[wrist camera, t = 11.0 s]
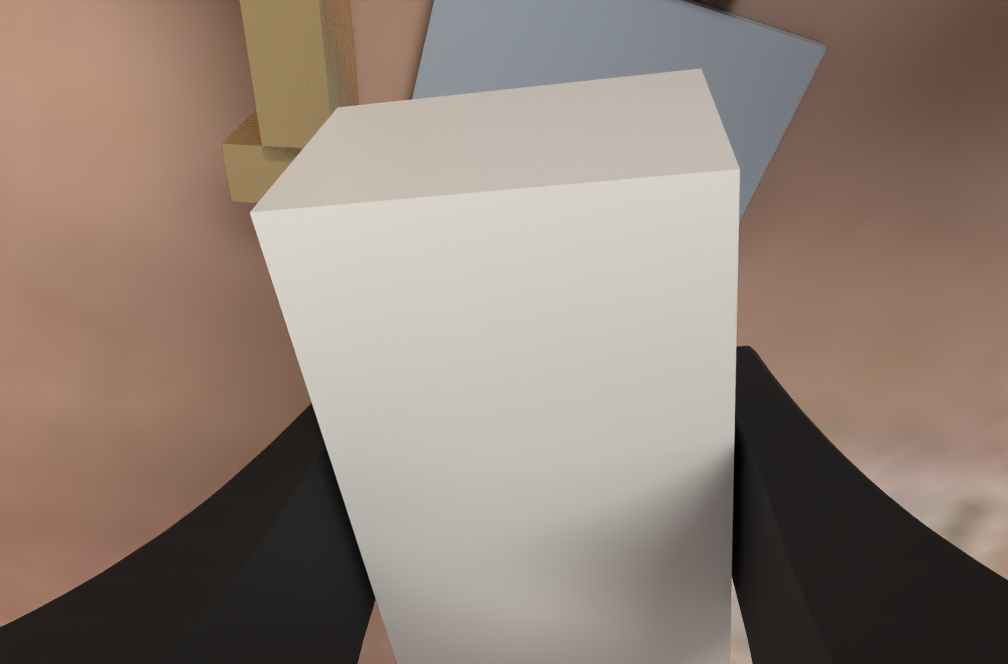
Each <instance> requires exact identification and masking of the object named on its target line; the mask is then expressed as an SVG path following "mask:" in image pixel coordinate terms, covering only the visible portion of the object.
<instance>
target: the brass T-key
mask: <svg viewBox="0 0 1008 664" xmlns="http://www.w3.org/2000/svg"><path fill="white" fill-rule="evenodd" d="M239 1H240V7H241V14H242V20H243V27H244V33H245V40H246V46H247V52H248V59H249V65H250V72H251V78H252V85H253V91H254V98H255V104H256V111H255V112H254V113H253V114H252V115H251V116H249V117H248V118H247V119H246V120H245V121H244V122H243V123H242V124H241V125H240V126H239V127H238V128H237V129H236V130H235V131H234V132H233V133H232V134H231V135H230V136H229V137H228V138H226V139H225V140H224V141H223V142H222V143H221V146H222V152H223V157H224V163H225V168H226V173H227V179H228V184H229V190H230V195H231V201H232V202H250V203H258V202H259V201H260V200H261V198H262V197H263V196H264V195H265V194H266V192H267V191H268V190H269V189H270V188H271V186H272V185H273V184H274V183H275V182H276V180H277V179H278V178H279V177H280V176H281V175H282V173H283V172H284V171H285V170H286V169H287V167H288V166H289V165H290V164H291V163H292V161H293V160H294V159H295V158H296V157H297V155H298V154H299V153H300V152H301V151H302V149H303V148H304V147H305V146H306V145H307V143H308V142H309V141H310V140H311V139H312V137H313V136H314V135H315V134H316V133H317V131H318V130H319V129H320V128H321V127H322V126H323V124H324V123H325V122H326V121H327V120H328V118H329V117H330V116H331V115H332V114H333V112H334V111H335V110H336V109H337V108H338V107H347V106H356V105H359V102H358V90H357V78H356V66H355V54H354V42H353V30H352V18H351V6H350V0H239Z"/></svg>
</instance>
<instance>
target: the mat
mask: <svg viewBox="0 0 1008 664" xmlns="http://www.w3.org/2000/svg"><path fill="white" fill-rule="evenodd" d="M826 50H827V48H826V47H825V45H824V44H823V43H820V42H817V41H814V40H811V39H808V38H805V37H802V36H799V35H796V34H793V33H790V32H787V31H784V30H781V29H778V28H775V27H772V26H769V25H766V24H763V23H760V22H757V21H754V20H751V19H748V18H745V17H742V16H739V15H736V14H733V13H730V12H727V11H724V10H720V9H717V8H714V7H711V6H708V5H705V4H702V3H699V2H696V1H693V0H434V4H433V8H432V12H431V17H430V21H429V26H428V30H427V35H426V39H425V44H424V48H423V53H422V57H421V62H420V66H419V70H418V75H417V79H416V84H415V88H414V93H413V97H412V99H421V98H430V97H440V96H449V95H458V94H468V93H477V92H486V91H496V90H505V89H514V88H523V87H533V86H542V85H551V84H561V83H570V82H579V81H589V80H598V79H607V78H617V77H626V76H635V75H644V74H654V73H663V72H672V71H682V70H691V69H700V68H701V69H702V72H703V74H704V77H705V80H706V82H707V85H708V87H709V90H710V93H711V95H712V98H713V100H714V103H715V106H716V108H717V111H718V113H719V116H720V119H721V121H722V124H723V126H724V129H725V132H726V134H727V137H728V139H729V142H730V145H731V147H732V150H733V152H734V155H735V158H736V160H737V163H738V165H739V168H740V191H739V222H740V220H741V218H742V216H743V214H744V212H745V210H746V208H747V206H748V204H749V202H750V200H751V198H752V196H753V194H754V192H755V190H756V188H757V186H758V184H759V182H760V180H761V178H762V176H763V174H764V172H765V171H766V169H767V167H768V165H769V163H770V161H771V159H772V157H773V155H774V153H775V151H776V149H777V147H778V145H779V143H780V141H781V139H782V137H783V135H784V133H785V131H786V129H787V127H788V125H789V123H790V121H791V119H792V117H793V115H794V113H795V111H796V109H797V107H798V105H799V103H800V101H801V99H802V97H803V95H804V93H805V91H806V89H807V87H808V85H809V83H810V81H811V79H812V77H813V75H814V73H815V71H816V69H817V67H818V65H819V64H820V62H821V60H822V58H823V56H824V54H825V52H826Z"/></svg>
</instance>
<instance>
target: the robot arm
mask: <svg viewBox="0 0 1008 664" xmlns="http://www.w3.org/2000/svg"><path fill="white" fill-rule="evenodd" d="M732 579H733V583H734V586H735V590H736V594H737V598H738V602H739V606H740V610H741V614H742V618H743V622H744V626H745V630H746V634H747V638H748V643H749V648H750V653H751V657H752V662H753V664H1008V580H1007V579H1005V578H1003V577H1002V576H1000V575H998V574H997V573H995V572H994V571H992V570H991V569H989V568H987V567H986V566H984V565H983V564H981V563H979V562H978V561H976V560H975V559H973V558H972V557H971V556H969V555H968V554H966V553H965V552H963V551H962V550H960V549H959V548H957V547H956V546H954V545H953V544H951V543H950V542H949V541H947V540H946V539H944V538H943V537H941V536H940V535H938V534H937V533H935V532H934V531H932V530H931V529H930V528H928V527H927V526H926V525H924V524H923V523H922V522H920V521H919V520H918V519H916V518H915V517H914V516H912V515H911V514H910V513H909V512H907V511H906V510H905V509H904V508H903V507H901V506H900V505H899V504H898V503H896V502H895V501H894V500H893V499H892V498H890V497H889V496H888V495H887V494H886V493H884V492H883V491H882V490H881V489H880V488H879V487H877V486H876V485H875V484H874V483H873V482H872V481H871V480H870V479H869V478H867V477H866V476H865V475H864V474H863V473H862V472H861V471H860V470H859V469H858V468H857V467H856V466H855V465H854V464H853V463H852V462H851V461H849V460H848V459H847V458H846V457H845V456H844V455H843V454H842V453H841V452H840V451H839V450H838V449H837V448H836V447H835V446H834V445H833V444H832V443H831V442H830V441H829V440H828V439H827V437H826V436H825V435H824V434H823V433H822V432H821V431H820V430H819V429H818V428H817V427H816V425H815V424H814V423H813V422H812V421H811V420H810V419H809V418H808V417H807V416H806V414H805V413H804V412H803V411H802V410H801V409H800V408H799V407H798V405H797V404H796V403H795V402H794V401H793V399H792V398H791V397H790V396H789V395H788V393H787V392H786V391H785V390H784V388H783V387H782V386H781V385H780V384H779V382H778V381H777V380H776V378H775V377H774V376H773V374H772V373H771V372H770V370H769V369H768V368H767V366H766V365H765V364H764V362H763V361H762V359H761V358H760V357H759V355H758V354H757V352H756V351H755V350H753V349H752V348H751V347H750V346H739V347H736V385H735V434H734V482H733V531H732ZM375 600H376V598H375V595H374V592H373V589H372V586H371V583H370V580H369V577H368V574H367V571H366V568H365V564H364V561H363V558H362V555H361V552H360V549H359V546H358V543H357V540H356V537H355V534H354V531H353V528H352V525H351V522H350V518H349V515H348V512H347V509H346V506H345V503H344V500H343V497H342V494H341V491H340V488H339V485H338V482H337V479H336V476H335V473H334V469H333V466H332V463H331V460H330V457H329V454H328V451H327V448H326V445H325V442H324V439H323V436H322V433H321V430H320V427H319V423H318V420H317V417H316V414H315V411H314V408H313V405H312V403H311V404H310V405H309V406H308V407H307V408H306V409H305V410H304V411H303V412H302V413H301V414H300V415H299V416H298V417H297V418H296V419H295V420H294V421H293V422H292V423H291V424H290V425H289V426H288V427H287V428H286V429H285V430H284V431H283V432H282V433H281V434H280V435H279V436H278V437H277V438H276V439H275V440H274V441H273V442H272V443H271V444H270V445H269V446H268V447H267V448H266V449H264V450H263V451H262V452H261V453H260V454H259V455H258V456H257V457H255V458H254V459H253V460H252V461H251V462H250V463H249V464H248V465H247V466H245V467H244V468H243V469H242V470H241V471H240V472H239V473H238V474H236V475H235V476H234V477H233V478H232V479H231V480H230V481H229V482H228V483H226V484H225V485H224V486H223V487H222V488H221V489H219V490H218V491H217V492H216V493H215V494H213V495H212V496H211V497H210V498H208V499H207V500H206V501H205V502H203V503H202V504H201V505H200V506H198V507H197V508H196V509H194V510H193V511H192V512H190V513H189V514H188V515H186V516H185V517H184V518H182V519H181V520H180V521H178V522H177V523H176V524H174V525H173V526H172V527H170V528H169V529H167V530H166V531H165V532H163V533H162V534H160V535H159V536H157V537H156V538H154V539H153V540H151V541H150V542H148V543H147V544H145V545H144V546H142V547H141V548H139V549H138V550H136V551H134V552H133V553H131V554H130V555H128V556H127V557H125V558H124V559H122V560H121V561H119V562H118V563H116V564H115V565H113V566H111V567H110V568H108V569H107V570H105V571H104V572H102V573H100V574H99V575H97V576H95V577H94V578H92V579H90V580H88V581H87V582H85V583H83V584H81V585H80V586H78V587H76V588H75V589H73V590H71V591H69V592H68V593H66V594H64V595H62V596H60V597H58V598H56V599H55V600H53V601H51V602H49V603H47V604H45V605H44V606H42V607H40V608H38V609H36V610H34V611H32V612H30V613H28V614H26V615H24V616H22V617H21V618H19V619H17V620H15V621H12V622H10V623H8V624H6V625H4V626H2V627H0V664H357V663H358V659H359V655H360V651H361V647H362V643H363V639H364V636H365V633H366V629H367V626H368V623H369V619H370V616H371V613H372V610H373V606H374V603H375Z"/></svg>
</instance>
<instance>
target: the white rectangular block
mask: <svg viewBox="0 0 1008 664" xmlns="http://www.w3.org/2000/svg"><path fill="white" fill-rule="evenodd" d="M739 191H740V168H739V165H738V163H737V160H736V158H735V155H734V152H733V150H732V147H731V145H730V142H729V139H728V137H727V134H726V132H725V129H724V126H723V124H722V121H721V119H720V116H719V113H718V111H717V108H716V106H715V103H714V100H713V98H712V95H711V93H710V90H709V87H708V85H707V82H706V80H705V77H704V74H703V72H702V69H701V68H700V69H691V70H682V71H672V72H663V73H654V74H644V75H635V76H626V77H617V78H607V79H598V80H589V81H579V82H570V83H561V84H551V85H542V86H533V87H523V88H514V89H505V90H496V91H486V92H477V93H468V94H458V95H449V96H440V97H430V98H421V99H412V100H402V101H393V102H384V103H375V104H365V105H356V106H347V107H338V108H337V109H336V110H335V111H334V112H333V114H332V115H331V116H330V117H329V118H328V120H327V121H326V122H325V123H324V124H323V126H322V127H321V128H320V129H319V130H318V131H317V133H316V134H315V135H314V136H313V137H312V139H311V140H310V141H309V142H308V143H307V145H306V146H305V147H304V148H303V149H302V151H301V152H300V153H299V154H298V155H297V157H296V158H295V159H294V160H293V161H292V163H291V164H290V165H289V166H288V167H287V169H286V170H285V171H284V172H283V173H282V175H281V176H280V177H279V178H278V179H277V180H276V182H275V183H274V184H273V185H272V186H271V188H270V189H269V190H268V191H267V192H266V194H265V195H264V196H263V197H262V198H261V200H260V201H259V202H258V203H257V204H256V206H255V207H254V208H253V209H252V210H251V212H250V215H251V218H252V221H253V224H254V227H255V230H256V233H257V236H258V240H259V243H260V246H261V249H262V252H263V255H264V258H265V261H266V264H267V267H268V270H269V273H270V276H271V279H272V282H273V286H274V289H275V292H276V295H277V298H278V301H279V304H280V307H281V310H282V313H283V316H284V319H285V322H286V325H287V328H288V332H289V335H290V338H291V341H292V344H293V347H294V350H295V353H296V356H297V359H298V362H299V365H300V368H301V371H302V374H303V377H304V381H305V384H306V387H307V390H308V393H309V396H310V399H311V402H312V405H313V408H314V411H315V414H316V417H317V420H318V423H319V427H320V430H321V433H322V436H323V439H324V442H325V445H326V448H327V451H328V454H329V457H330V460H331V463H332V466H333V469H334V473H335V476H336V479H337V482H338V485H339V488H340V491H341V494H342V497H343V500H344V503H345V506H346V509H347V512H348V515H349V518H350V522H351V525H352V528H353V531H354V534H355V537H356V540H357V543H358V546H359V549H360V552H361V555H362V558H363V561H364V564H365V568H366V571H367V574H368V577H369V580H370V583H371V586H372V589H373V592H374V595H375V598H376V601H377V604H378V607H379V610H380V614H381V617H382V620H383V623H384V626H385V629H386V632H387V635H388V638H389V641H390V644H391V647H392V650H393V653H394V656H395V659H396V663H397V664H730V628H731V579H732V531H733V482H734V434H735V385H736V337H737V288H738V240H739Z"/></svg>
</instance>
